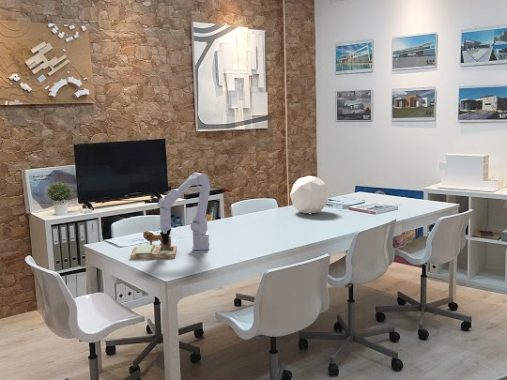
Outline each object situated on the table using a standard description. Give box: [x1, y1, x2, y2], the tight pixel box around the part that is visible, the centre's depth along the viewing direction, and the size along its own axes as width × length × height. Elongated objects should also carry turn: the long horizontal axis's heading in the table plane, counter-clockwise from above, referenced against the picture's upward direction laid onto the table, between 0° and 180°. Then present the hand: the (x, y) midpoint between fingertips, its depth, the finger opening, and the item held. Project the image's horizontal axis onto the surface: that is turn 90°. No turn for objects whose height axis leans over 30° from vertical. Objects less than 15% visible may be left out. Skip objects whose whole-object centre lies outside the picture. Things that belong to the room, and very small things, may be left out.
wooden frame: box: [129, 245, 178, 260], centre depth 314 cm, size 24×17×3 cm
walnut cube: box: [160, 236, 172, 248], centre depth 314 cm, size 5×5×5 cm
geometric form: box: [289, 175, 330, 214], centre depth 426 cm, size 28×30×30 cm
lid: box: [135, 243, 156, 254], centre depth 314 cm, size 9×16×2 cm, turn 5°
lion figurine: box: [142, 230, 162, 246], centre depth 334 cm, size 15×5×9 cm, turn 95°
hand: (166, 243), depth 314 cm, fingers closed on walnut cube, 5 cm apart
